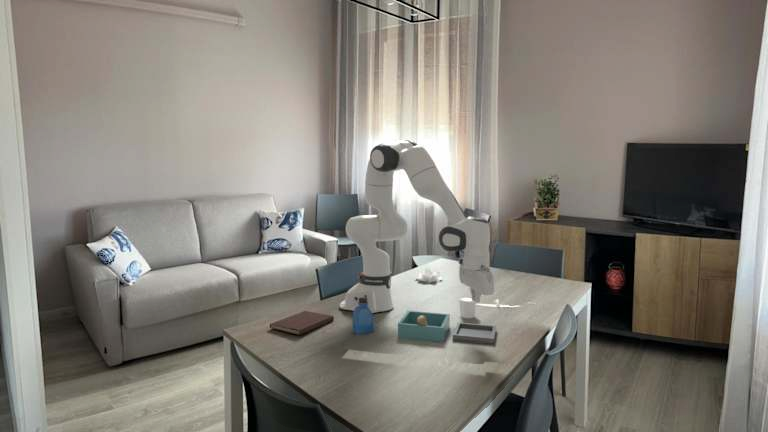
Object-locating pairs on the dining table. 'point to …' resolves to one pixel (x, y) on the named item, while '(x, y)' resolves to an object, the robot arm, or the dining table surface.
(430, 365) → the dining table surface
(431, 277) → the lotus flower
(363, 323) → the perfume bottle
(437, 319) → the shallow teal crate
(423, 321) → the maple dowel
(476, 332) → the charcoal tray
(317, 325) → the notebook
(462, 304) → the white cylinder
